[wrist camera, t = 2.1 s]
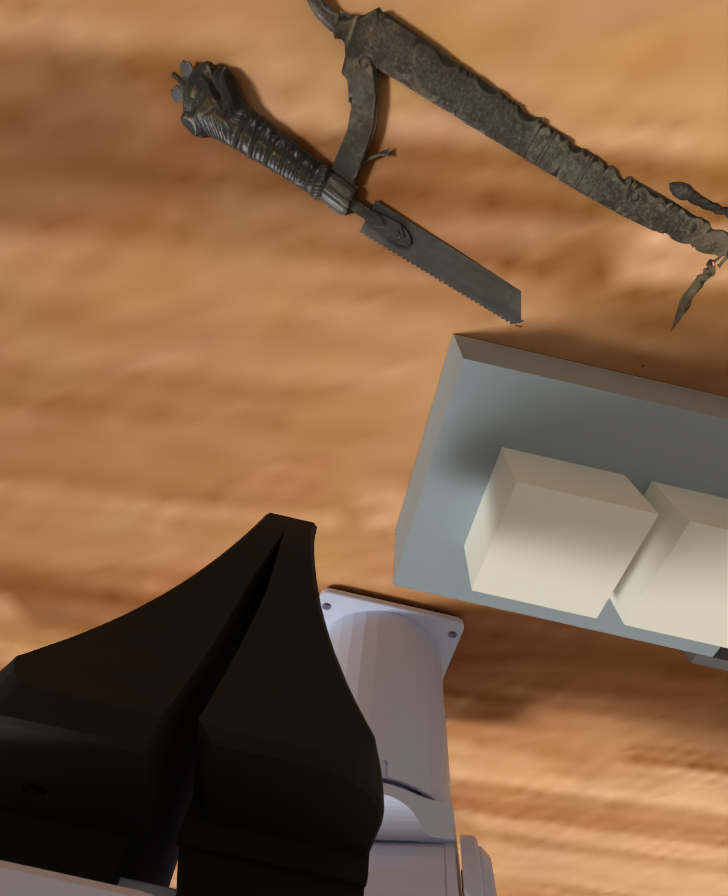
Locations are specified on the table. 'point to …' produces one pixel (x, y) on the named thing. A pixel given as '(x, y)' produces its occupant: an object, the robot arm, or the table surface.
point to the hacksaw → (435, 78)
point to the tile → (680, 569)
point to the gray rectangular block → (549, 435)
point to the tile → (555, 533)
